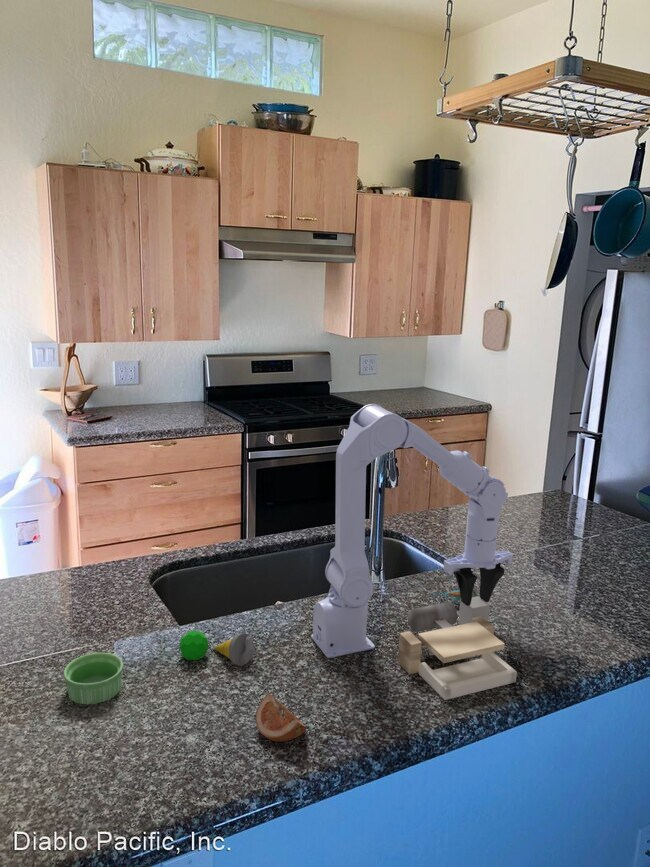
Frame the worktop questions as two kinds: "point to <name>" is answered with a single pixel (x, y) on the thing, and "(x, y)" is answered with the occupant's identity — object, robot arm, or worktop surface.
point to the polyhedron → (193, 645)
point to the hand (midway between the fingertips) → (475, 601)
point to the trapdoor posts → (412, 647)
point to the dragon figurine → (457, 594)
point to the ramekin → (93, 677)
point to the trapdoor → (451, 633)
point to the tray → (468, 676)
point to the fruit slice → (277, 720)
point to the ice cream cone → (238, 649)
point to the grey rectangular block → (473, 610)
